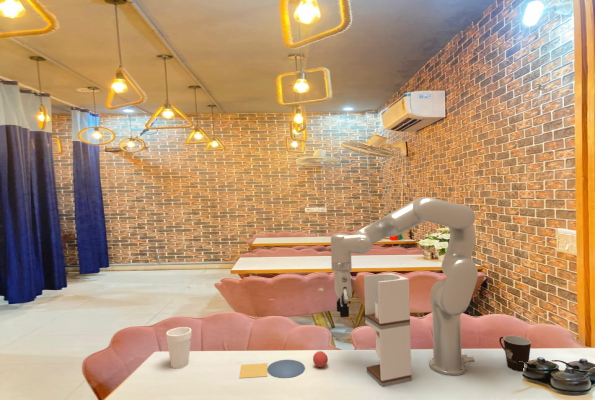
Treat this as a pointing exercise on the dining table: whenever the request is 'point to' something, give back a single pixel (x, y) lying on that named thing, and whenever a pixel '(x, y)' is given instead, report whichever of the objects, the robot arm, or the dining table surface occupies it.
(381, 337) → the display case
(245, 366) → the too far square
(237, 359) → the dining table surface
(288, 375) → the disc
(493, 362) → the dining table surface
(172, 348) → the foam cup
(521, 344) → the coffee mug
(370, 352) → the dining table surface
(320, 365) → the ball
